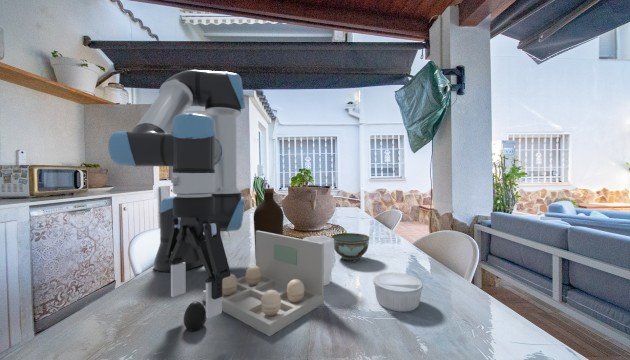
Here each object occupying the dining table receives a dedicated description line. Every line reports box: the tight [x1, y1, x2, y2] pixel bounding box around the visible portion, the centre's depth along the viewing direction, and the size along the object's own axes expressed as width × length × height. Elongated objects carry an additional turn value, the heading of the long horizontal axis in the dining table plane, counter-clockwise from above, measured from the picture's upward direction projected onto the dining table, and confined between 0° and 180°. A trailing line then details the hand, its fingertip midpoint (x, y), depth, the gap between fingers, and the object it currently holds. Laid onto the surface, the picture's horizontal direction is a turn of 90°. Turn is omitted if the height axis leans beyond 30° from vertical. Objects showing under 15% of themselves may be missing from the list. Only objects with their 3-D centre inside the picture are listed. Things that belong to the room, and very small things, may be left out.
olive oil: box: [252, 188, 284, 260], centre depth 97 cm, size 11×11×25 cm
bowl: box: [331, 232, 370, 262], centre depth 97 cm, size 14×13×8 cm
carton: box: [202, 231, 325, 337], centre depth 64 cm, size 24×17×14 cm
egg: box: [183, 300, 207, 332], centre depth 53 cm, size 4×4×5 cm
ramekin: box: [372, 271, 424, 313], centre depth 64 cm, size 11×11×5 cm
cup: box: [302, 235, 335, 287], centre depth 76 cm, size 9×9×12 cm
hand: (194, 304), depth 53 cm, fingers open, 13 cm apart
